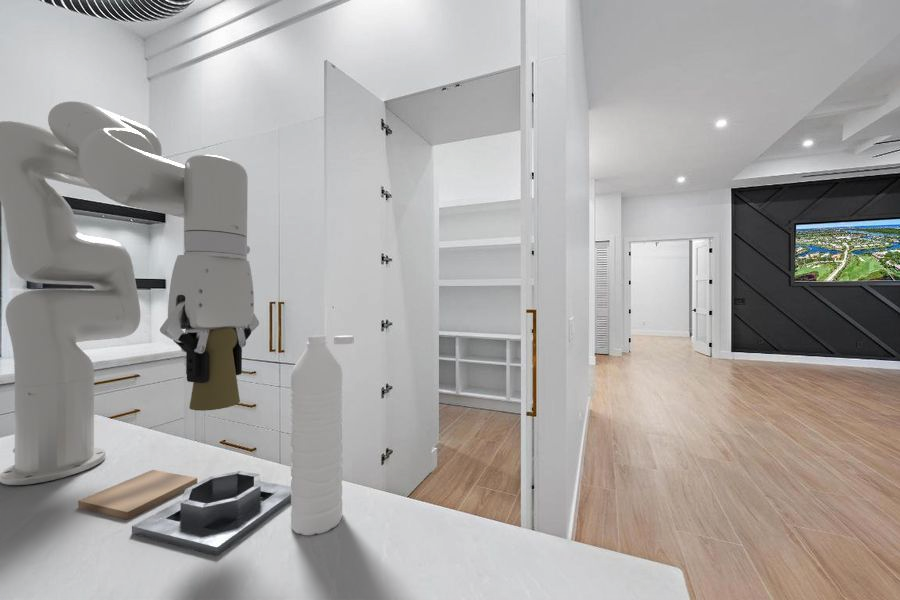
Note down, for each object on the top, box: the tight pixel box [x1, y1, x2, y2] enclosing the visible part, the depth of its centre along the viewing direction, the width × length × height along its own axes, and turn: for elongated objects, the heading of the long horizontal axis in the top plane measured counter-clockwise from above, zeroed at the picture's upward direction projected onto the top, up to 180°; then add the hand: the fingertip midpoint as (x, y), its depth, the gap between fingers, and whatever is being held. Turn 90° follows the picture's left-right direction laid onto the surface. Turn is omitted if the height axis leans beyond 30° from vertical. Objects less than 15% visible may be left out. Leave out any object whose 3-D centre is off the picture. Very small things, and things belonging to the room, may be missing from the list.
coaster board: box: [77, 469, 198, 520], centre depth 56 cm, size 10×10×1 cm
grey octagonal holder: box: [131, 470, 292, 557], centre depth 51 cm, size 14×14×4 cm
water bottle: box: [290, 334, 355, 536], centre depth 49 cm, size 9×6×25 cm
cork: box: [189, 328, 241, 412], centre depth 52 cm, size 6×6×11 cm
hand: (215, 376), depth 52 cm, fingers closed on cork, 4 cm apart
